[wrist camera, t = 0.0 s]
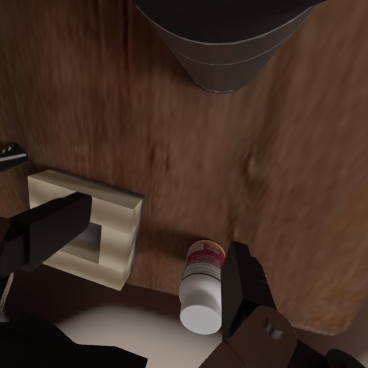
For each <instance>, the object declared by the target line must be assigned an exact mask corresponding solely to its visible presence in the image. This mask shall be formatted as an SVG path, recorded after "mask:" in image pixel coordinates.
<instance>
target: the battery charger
mask: <svg viewBox="0 0 368 368" xmlns="http://www.w3.org/2000/svg"><path fill="white" fill-rule="evenodd" d="M27 160H28V158H27V155H26V154H25V153H24V151H23V150H22V149H21V147H20V146H19V145H17V144H10V145H8V146H6V147H4V148H2V149H0V172H2V171H5V170H7V169H9V168H11V167H14V166H16V165H18V164H20V163H22V162H24V161H27Z"/></svg>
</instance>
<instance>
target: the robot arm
mask: <svg viewBox="0 0 368 368" xmlns="http://www.w3.org/2000/svg"><path fill="white" fill-rule="evenodd" d="M132 1H133V3H134V4H135V5H136V6H137V8H138V9H139V10H140V11H141V13H142V14H143V15H144V17H145V18H146V19H147V21H148V22H149V23H150V24H151V26H152V27H153V28H154V30H155V31H156V32H157V33H158V35H159V36H160V37H161V39H162V40H163V41H164V42H165V44H166V45H167V46H168V48H169V49H170V50H171V51H172V53H173V54H174V55H175V57H176V58H177V59H178V61H179V62H180V63H181V65H182V66H183V67H184V69H185V70H186V71H187V73H188V74H189V75H190V76H191V78H192V79H193V80H194V82H195V83H196V84H198V85H199V86H200V87H201V88H203V89H204V90H207V91H209V92H212V93H218V94H223V93H230V92H233V91H236V90H238V89H240V88H242V87H243V86H245V85H246V84H247V83H249V82H250V81H251V80H252V79H253V78H254V77H255V76H256V74H257V73H258V72H259V71H260V70H261V69H262V68H263V67H264V66H265V65H266V63H267V62H268V61H269V60H270V59H271V58H272V57H273V56H274V55H275V53H276V52H277V51H278V50H279V49H280V48H281V47H282V46H283V44H284V43H285V42H286V41H287V40H288V39H289V38H290V37H291V35H292V34H293V33H294V32H295V31H296V30H297V29H298V28H299V26H300V25H301V24H302V23H303V22H304V21H305V20H306V19H307V17H308V16H309V15H310V14H311V13H312V11H313V10H314V9H315V8H316V7H317V6H318V5H319V4H320V3H321V2H324V1H326V0H132ZM91 208H92V196H91V195H88V194H84V193H81V192H74V193H72V194H70V195H68V196H65V197H61V198H56V199H53V200H50V201H48V202H46V203H45V204H41V205H39V206H37V207H34V208H32V209H29V210H27V211H25V212H22V213H20V214H18V215H15V216H13V217H11V218H8V219H7V218H4V217H0V314H1V311H2V308H3V305H4V302H5V299H6V297H7V294H8V291H9V288H10V285H11V283H12V280H13V272H14V271H15V270H17V269H18V268H19V269H22V270H25V271H27V272H31V271H33V270H34V269H35V268H37V267H38V266H39V265H41V264H42V263H43V262H44V261H46V260H47V259H48V258H50V257H51V256H52V255H54V254H55V253H56V252H57V251H59V250H60V249H61V248H63V247H64V246H65V245H67V244H68V243H69V242H70V241H72V240H73V239H74V238H76V237H77V236H78V235H80V234H81V233H82V232H83V231H85V230H86V228H87V227H88V225H89V223H90V218H91ZM220 278H221V313H222V342H221V343H220V344H219V345H218V346H217V348H216V349H215V350H214V351H213V352H212V353H211V354H210V355H209V356H208V358H207V359H206V360H205V361H204V362H203V363H202V364H201V366H200V367H199V368H365V367H364V366H363V365H362V364H361V363H360V362H359V361H357V360H356V359H355V358H353V357H352V356H351V355H349V354H347V353H346V352H343V351H341V350H338V349H331V350H329V351H328V352H327V354H326V355H325V356H323V355H321V354H320V353H319V352H317V351H316V350H314V349H312V348H311V347H309V346H308V345H306V344H305V343H303V342H302V341H300V340H299V339H297V335H296V333H295V330H294V328H293V327H292V325H291V324H290V323H289V321H288V320H287V319H286V318H285V317H284V316H283V315H282V314H281V313H279V312H278V311H277V309H276V306H275V303H274V300H273V297H272V294H271V291H270V288H269V285H268V284H267V279H266V277H265V273H264V270H263V267H262V266H261V264H260V263H259V262H258V260H257V259H256V258H255V257H251V256H250V252H249V248H248V245H246V244H243V243H239V242H236V241H232V242H231V244H230V247H229V249H228V252H227V254H226V257H225V259H224V262H223V265H222V268H221V275H220ZM147 360H148V359H147V358H145V357H142V356H139V355H136V354H134V353H131V352H129V351H126V350H124V349H121V348H118V347H116V346H99V345H81V344H76V343H75V342H73V341H72V340H71V339H70V338H69V337H67V336H66V335H65V334H64V333H63V332H62V331H61V330H60V329H59V328H57V327H56V326H55V325H54V324H53V323H52V322H50V321H47V320H45V319H42V318H40V317H36V316H34V315H31V314H29V313H26V312H24V311H21V312H20V313H18V314H17V315H16V316H15V317H14V318H13V319H12V320H11V321H10V322H0V368H145V367H146V364H147Z"/></svg>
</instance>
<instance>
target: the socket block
mask: <svg viewBox="0 0 368 368" xmlns="http://www.w3.org/2000/svg"><path fill="white" fill-rule="evenodd" d="M28 187H29V199H30V209H32V208H34V207H37V206H39V205H41V204H45V203H46V202H48V201H50V200H53V199H56V198H61V197H65V196H68V195H70V194H72V193H74V192H81V193H84V194H88V195H91V196H92V208H91V218H90V223H89V225H88V227H87V228H86V230H85V231H83V232H82V233H81V234H80V235H78V236H77V237H76V238H74V239H73V240H72V241H70V242H69V243H68V244H67V245H65V246H64V247H63V248H61V249H60V250H59V251H57V252H56V253H55V254H54V255H52V256H51V257H50V258H48V259H47V260H46V261H44V262H43V264H46V265H49V266H52V267H55V268H57V269H61V270H63V271H66V272H69V273H71V274H74V275H77V276H80V277H83V278H85V279H88V280H91V281H94V282H97V283H100V284H103V285H105V286H108V287H111V288H114V289H116V290H121V288H122V287H123V285H124V283H125V281H126V280H127V278H128V276H129V274H130V273H131V271H132V267H133V261H134V256H135V250H136V245H137V239H138V233H139V228H140V222H141V217H142V211H143V206H144V200H145V196H143V195H139V194H136V193H133V192H130V191H126V190H123V189H120V188H117V187H113V186H110V185H107V184H104V183H100V182H97V181H94V180H91V179H87V178H84V177H81V176H78V175H74V174H71V173H68V172H65V171H61V170H58V169H55V168H52V169H49V170H46V171H43V172H40V173H37V174H33V175H30V176H28Z"/></svg>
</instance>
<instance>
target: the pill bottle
mask: <svg viewBox="0 0 368 368" xmlns="http://www.w3.org/2000/svg"><path fill="white" fill-rule="evenodd" d="M224 259H225V253H224V251H223V249H222V248H221V246H220V245H218V244H217V243H215V242H213V241H209V240H200V241H197V242H195V243H193V244H192V245H191V246H190V248H189V250H188V253H187V257H186V262H185V266H184V270H183V275H182V279H181V283H180V288H179V298H180V301H181V303H182V306H181V312H180V319H181V322H182V323H183V325H184V326H185V327H186V328H188V329H189V330H191V331H193V332H195V333H199V334H212V333H215V332H216V331H218V330H219V328H220V326H221V316H222V313H221V278H220V275H221V268H222V265H223V262H224Z"/></svg>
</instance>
